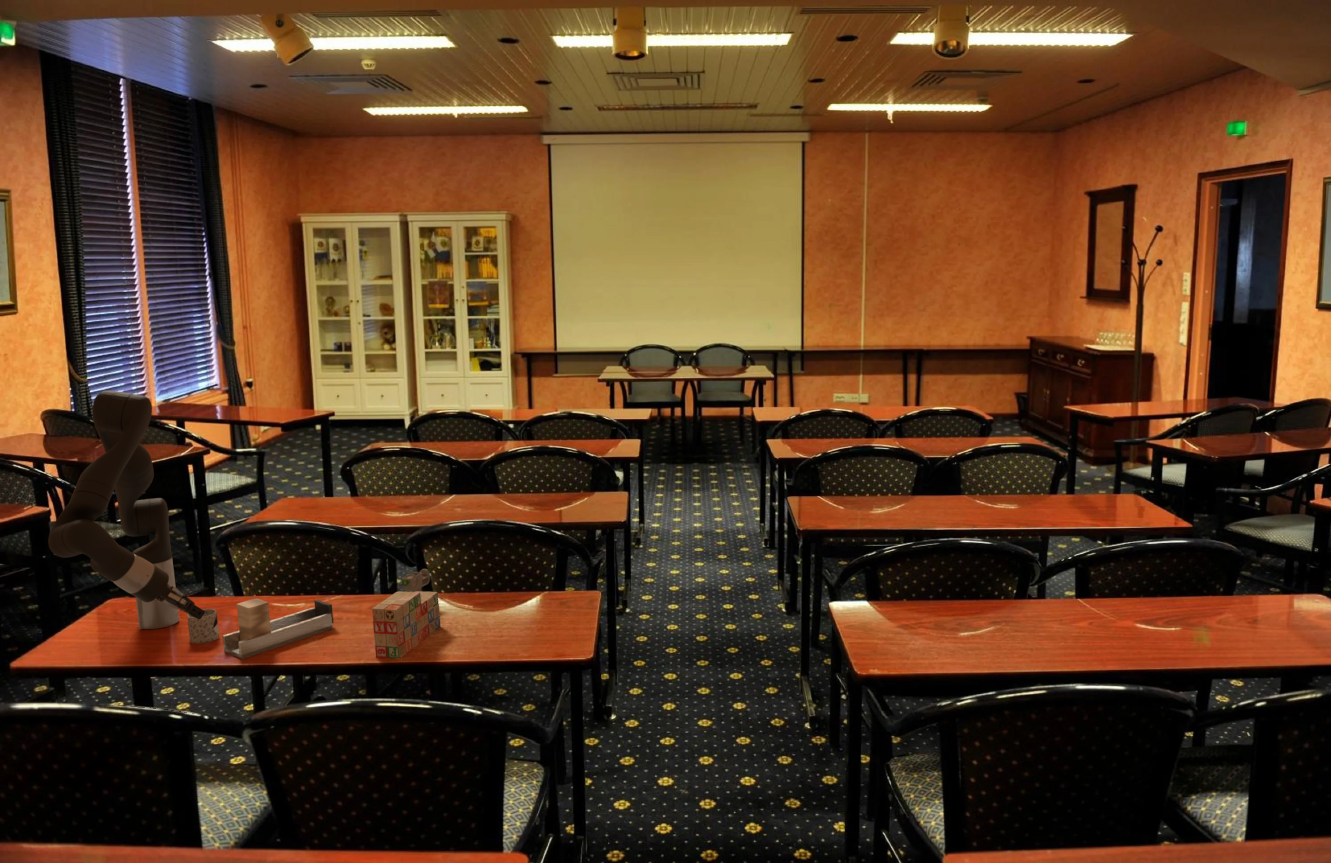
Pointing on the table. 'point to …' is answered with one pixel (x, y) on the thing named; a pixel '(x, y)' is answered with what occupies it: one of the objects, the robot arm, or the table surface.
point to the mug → (203, 627)
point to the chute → (282, 631)
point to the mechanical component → (416, 580)
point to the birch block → (253, 618)
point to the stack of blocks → (404, 622)
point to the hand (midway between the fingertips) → (201, 615)
